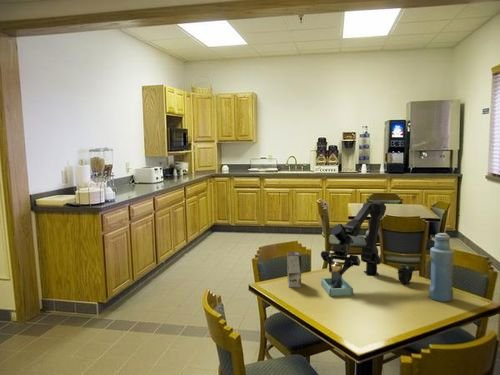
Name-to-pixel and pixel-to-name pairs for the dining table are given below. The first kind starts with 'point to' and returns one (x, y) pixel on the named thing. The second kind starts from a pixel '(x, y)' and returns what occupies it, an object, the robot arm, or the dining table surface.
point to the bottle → (441, 269)
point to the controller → (405, 273)
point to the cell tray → (343, 291)
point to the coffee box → (294, 269)
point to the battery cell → (336, 275)
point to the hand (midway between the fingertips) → (335, 273)
